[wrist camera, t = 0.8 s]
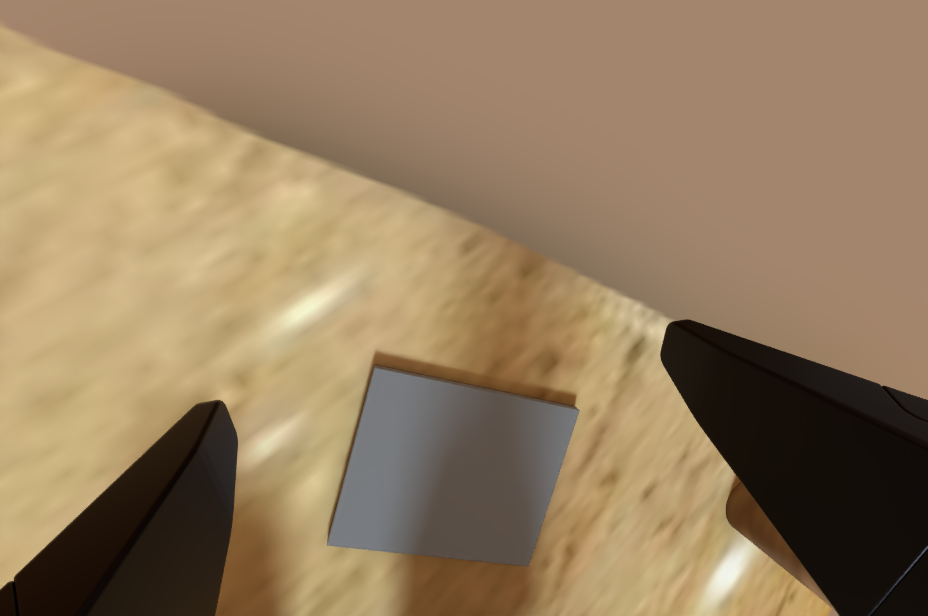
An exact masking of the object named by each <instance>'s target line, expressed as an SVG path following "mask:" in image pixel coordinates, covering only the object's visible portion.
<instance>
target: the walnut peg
mask: <svg viewBox="0 0 928 616" xmlns="http://www.w3.org/2000/svg"><path fill="white" fill-rule="evenodd" d="M726 516H727V519H728V522H729V523H730V524H731V526H733V527H734V528H735V529H736V530H737V531H739V532H740V533H741V534H742V535H743V536H745V537H746V538H747V539H748V540H750V541H751V542H752V543H753V544H754V545H756V546H757V547H758V548H759V549H761V550H762V551H763V552H764V553H765V554H767V555H768V556H769V557H770V558H772V559H773V560H774V561H775V562H776V563H778V564H779V565H780V566H781V567H783V568H784V569H785V570H786V571H787V572H789V573H790V574H791V575H792V576H794V577H795V578H796V579H797V580H798V581H800V582H801V583H802V584H803V585H805V586H806V587H807V588H808V589H809V590H811V591H812V592H813V593H814V594H816V595H817V596H818V597H819V598H820V599H822V600H823V601H824V602H825V603H827V604H828V605H829V606H830V607H831V608H833V606H832V605H831V604H830V602H829V601H828V599H827V598H826V597H825V595H824V594H823V593H822V591H821V590H820V589H819V587H818V586H817V585H816V583H815V582H814V580H813V579H812V578H811V576H810V575H809V574H808V572H807V571H806V570H805V568H804V567H803V565H802V564H801V563H800V561H799V560H798V559H797V557H796V556H795V555H794V553H793V552H792V550H791V549H790V548H789V546H788V545H787V544H786V542H785V541H784V540H783V538H782V537H781V536H780V534H779V533H778V531H777V530H776V529H775V527H774V526H773V525H772V523H771V522H770V521H769V519H768V518H767V516H766V515H765V514H764V512H763V511H762V510H761V508H760V507H759V506H758V504H757V503H756V501H755V500H754V499H753V497H752V496H751V495H750V493H749V492H748V491H747V489H746V488H745V487H744V485H743V484H742V482H741V483H740V484H739V485H738V486H737V487H736V488H735V489H734V490H733V491H732V493H731V495H730V496H729V499H728V501H727V505H726ZM833 609H834V608H833ZM834 610H835V609H834ZM835 611H836V610H835Z"/></svg>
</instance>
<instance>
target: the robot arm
mask: <svg viewBox="0 0 928 616" xmlns="http://www.w3.org/2000/svg"><path fill="white" fill-rule="evenodd" d="M660 355H661V361H662V363H663V365H664V367H665V369H666V371H667V372H668V374H669V376H670V377H671V379H672V381H673V382H674V384H675V386H676V387H677V389H678V391H679V393H680V394H681V396H682V398H683V399H684V401H685V403H686V404H687V406H688V408H689V409H690V411H691V413H692V414H693V416H694V418H695V419H696V421H697V422H698V424H699V425H700V426H701V428H702V429H703V431H704V432H705V433H706V435H707V436H708V438H709V439H710V440H711V442H712V443H713V444H714V446H715V447H716V448H717V450H718V451H719V452H720V454H721V455H722V457H723V458H724V459H725V461H726V462H727V463H728V465H729V466H730V467H731V469H732V470H733V472H734V473H735V474H736V476H737V477H738V478H739V480H740V481H741V482H742V484H743V485H744V487H745V488H746V489H747V491H748V492H749V493H750V495H751V496H752V497H753V499H754V500H755V501H756V503H757V504H758V506H759V507H760V508H761V510H762V511H763V512H764V514H765V515H766V516H767V518H768V519H769V521H770V522H771V523H772V525H773V526H774V527H775V529H776V530H777V531H778V533H779V534H780V536H781V537H782V538H783V540H784V541H785V542H786V544H787V545H788V546H789V548H790V549H791V550H792V552H793V553H794V555H795V556H796V557H797V559H798V560H799V561H800V563H801V564H802V565H803V567H804V568H805V570H806V571H807V572H808V574H809V575H810V576H811V578H812V579H813V580H814V582H815V583H816V585H817V586H818V587H819V589H820V590H821V591H822V593H823V594H824V595H825V597H826V598H827V599H828V601H829V602H830V604H831V605H832V606H833V608H834V609H835V610H836V611H837V613H838V614H839V616H928V400H926V399H923V398H920V397H917V396H914V395H911V394H907V393H905V392H902V391H899V390H896V389H893V388H890V387H887V386H881V385H880V384H878V383H875V382H872V381H869V380H866V379H863V378H860V377H857V376H854V375H851V374H848V373H845V372H843V371H840V370H837V369H834V368H831V367H828V366H825V365H822V364H819V363H816V362H813V361H810V360H807V359H804V358H801V357H798V356H795V355H792V354H789V353H786V352H783V351H780V350H778V349H775V348H772V347H769V346H766V345H763V344H760V343H757V342H754V341H751V340H748V339H745V338H742V337H739V336H736V335H733V334H731V333H727V332H724V331H721V330H719V329H716V328H713V327H710V326H707V325H704V324H701V323H698V322H695V321H692V320H679V321H674V322H671V323H669V325H668V326H667V328H666V332H665V336H664V340H663V344H662V348H661V353H660ZM237 450H238V438H237V433H236V430H235V427H234V425H233V422H232V420H231V417H230V415H229V412H228V410H227V407H226V405H225V404H224V402H223V401H221V400H214V401H208V402H202V403H198V404H196V405H195V406H194V407H192V408H191V409H190V410H189V411H188V412H187V413H186V414H185V415H184V416H183V417H182V418H181V419H180V420H179V421H178V422H177V423H176V424H175V425H173V426H172V427H171V428H170V429H169V430H168V431H167V432H166V433H165V434H164V435H163V436H162V437H161V438H160V439H159V440H158V441H157V442H156V443H154V444H153V445H152V446H151V447H150V448H149V449H148V450H147V451H146V452H145V453H144V454H143V455H142V456H141V457H140V458H139V459H138V460H137V461H135V462H134V463H133V464H132V465H131V466H130V467H129V468H128V469H127V470H126V471H125V472H124V473H123V474H122V475H121V476H120V477H119V478H118V479H117V480H115V481H114V482H113V483H112V484H111V485H110V486H109V487H108V488H107V489H106V490H105V491H104V492H103V493H102V494H101V495H100V496H99V497H98V498H96V499H95V500H94V501H93V502H92V503H91V504H90V505H89V506H88V507H87V508H86V509H85V510H84V511H83V512H82V513H81V514H80V515H79V516H78V517H76V518H75V519H74V520H73V521H72V522H71V523H70V524H69V525H68V526H67V527H66V528H65V529H64V530H63V531H62V532H61V533H60V534H59V535H57V536H56V537H55V538H54V539H53V540H52V541H51V542H50V543H49V544H48V545H47V546H46V547H45V548H44V549H43V550H42V551H41V552H40V553H39V554H37V555H36V556H35V557H34V558H33V559H32V560H31V561H30V562H29V563H28V564H27V565H26V566H25V567H24V568H23V569H22V570H21V571H20V572H18V573H17V574H16V575H15V577H14V581H10V582H8V583H7V584H6V585H5V586H3V587H2V588H1V589H0V616H215V614H216V608H217V603H218V598H219V593H220V587H221V582H222V577H223V572H224V566H225V561H226V556H227V551H228V545H229V540H230V535H231V528H232V521H233V510H234V496H235V480H236V465H237Z"/></svg>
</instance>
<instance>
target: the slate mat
mask: <svg viewBox="0 0 928 616" xmlns="http://www.w3.org/2000/svg"><path fill="white" fill-rule="evenodd" d="M578 414H579V410H578V409H577V408H576V407H574V406H569V405H565V404H560V403H555V402H550V401H546V400H541V399H536V398H531V397H526V396H522V395H517V394H512V393H507V392H503V391H498V390H493V389H488V388H483V387H479V386H474V385H469V384H464V383H459V382H455V381H450V380H445V379H440V378H436V377H431V376H426V375H421V374H416V373H412V372H407V371H402V370H397V369H393V368H388V367H383V366H378V365H374V368H373V372H372V376H371V379H370V383H369V387H368V390H367V394H366V398H365V402H364V405H363V409H362V413H361V417H360V420H359V424H358V428H357V432H356V435H355V439H354V443H353V447H352V450H351V454H350V458H349V461H348V465H347V469H346V473H345V476H344V480H343V484H342V488H341V491H340V495H339V499H338V503H337V506H336V510H335V514H334V518H333V521H332V525H331V529H330V532H329V536H328V542H327V546H337V547H346V548H356V549H366V550H375V551H385V552H394V553H404V554H413V555H423V556H432V557H442V558H451V559H461V560H470V561H480V562H489V563H499V564H509V565H518V566H529V563H530V560H531V557H532V554H533V551H534V548H535V545H536V542H537V539H538V536H539V533H540V530H541V527H542V524H543V521H544V518H545V514H546V511H547V508H548V505H549V502H550V499H551V496H552V493H553V490H554V487H555V484H556V481H557V478H558V475H559V472H560V469H561V466H562V462H563V459H564V456H565V453H566V450H567V447H568V444H569V441H570V438H571V435H572V432H573V429H574V426H575V423H576V420H577V417H578Z"/></svg>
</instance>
